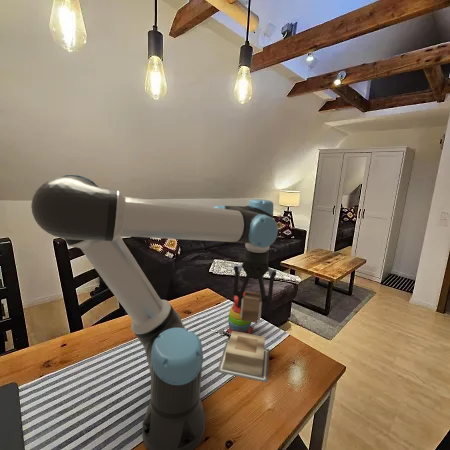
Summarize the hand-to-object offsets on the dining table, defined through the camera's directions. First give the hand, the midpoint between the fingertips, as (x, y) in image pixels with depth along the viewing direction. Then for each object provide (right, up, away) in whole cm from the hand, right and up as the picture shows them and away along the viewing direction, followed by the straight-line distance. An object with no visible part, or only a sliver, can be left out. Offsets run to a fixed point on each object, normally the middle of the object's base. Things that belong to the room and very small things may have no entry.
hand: (250, 316), depth 84 cm
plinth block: (-2, -16, +3) cm, 16 cm away
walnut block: (0, 0, 0) cm, 0 cm away
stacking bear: (-3, -14, +19) cm, 23 cm away
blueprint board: (-2, -16, +3) cm, 17 cm away
